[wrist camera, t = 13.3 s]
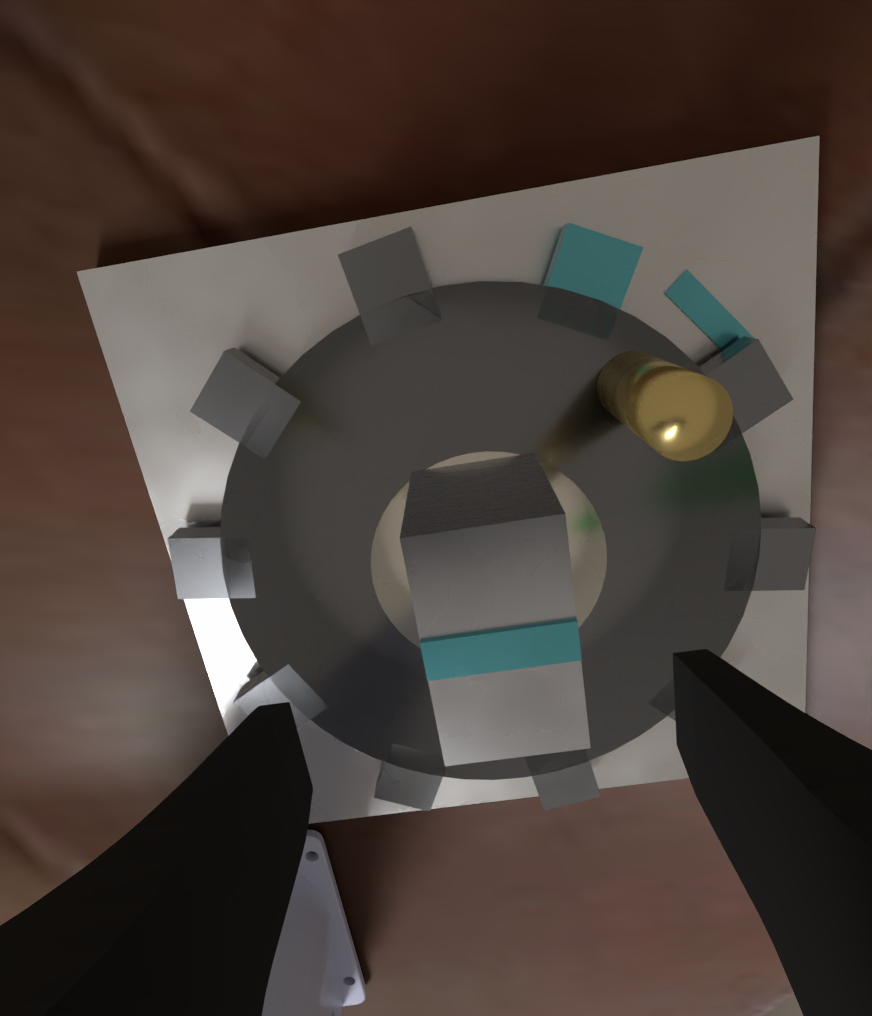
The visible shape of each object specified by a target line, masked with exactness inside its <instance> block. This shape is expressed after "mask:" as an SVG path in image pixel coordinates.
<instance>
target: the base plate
mask: <svg viewBox="0 0 872 1016" xmlns="http://www.w3.org/2000/svg"><path fill="white" fill-rule="evenodd" d="M819 139H820V136H815V137H809V138H804V139H798V140H793V141H788V142H782V143H777V144H771V145H766V146H760V147H755V148H749V149H744V150H738V151H733V152H728V153H722V154H717V155H711V156H706V157H700V158H695V159H689V160H684V161H678V162H673V163H668V164H662V165H657V166H651V167H646V168H640V169H635V170H629V171H624V172H618V173H613V174H608V175H602V176H597V177H591V178H586V179H580V180H575V181H569V182H564V183H558V184H553V185H548V186H542V187H537V188H531V189H526V190H520V191H515V192H509V193H504V194H498V195H493V196H488V197H482V198H477V199H471V200H466V201H460V202H455V203H449V204H444V205H438V206H433V207H428V208H422V209H417V210H411V211H406V212H400V213H395V214H389V215H384V216H378V217H373V218H367V219H362V220H357V221H351V222H346V223H340V224H335V225H329V226H324V227H318V228H313V229H307V230H302V231H297V232H291V233H286V234H280V235H275V236H269V237H264V238H258V239H253V240H247V241H242V242H237V243H231V244H226V245H220V246H215V247H209V248H204V249H198V250H193V251H187V252H182V253H177V254H171V255H166V256H160V257H155V258H149V259H144V260H138V261H133V262H127V263H122V264H117V265H111V266H106V267H100V268H95V269H89V270H84V271H78V272H77V274H78V278H79V281H80V284H81V287H82V290H83V293H84V296H85V299H86V302H87V305H88V308H89V311H90V314H91V317H92V320H93V323H94V326H95V330H96V333H97V336H98V339H99V342H100V345H101V348H102V351H103V354H104V357H105V360H106V363H107V366H108V369H109V372H110V375H111V378H112V382H113V385H114V388H115V391H116V394H117V397H118V400H119V403H120V406H121V409H122V412H123V415H124V418H125V421H126V424H127V427H128V430H129V434H130V437H131V440H132V443H133V446H134V449H135V452H136V455H137V458H138V461H139V464H140V467H141V470H142V473H143V476H144V479H145V482H146V486H147V489H148V492H149V495H150V498H151V501H152V504H153V507H154V510H155V513H156V516H157V519H158V522H159V525H160V528H161V531H162V534H163V537H164V541H165V544H166V547H167V550H168V553H169V556H170V550H169V544H168V538H169V537H170V536H171V535H172V534H173V533H174V532H175V531H176V530H177V529H178V528H186V527H221V509H222V503H223V498H224V493H225V487H226V482H227V477H228V474H229V471H230V468H231V465H232V462H233V459H234V456H235V453H236V450H237V447H238V444H239V442H237V441H235V440H234V439H232V438H231V437H229V436H228V435H226V434H224V433H223V432H221V431H220V430H218V429H217V428H215V427H213V426H212V425H210V424H209V423H207V422H206V421H204V420H203V419H201V418H199V417H198V416H196V415H195V414H193V413H192V412H190V410H191V408H192V406H193V405H194V403H195V401H196V399H197V398H198V396H199V394H200V392H201V391H202V389H203V387H204V385H205V384H206V382H207V380H208V378H209V377H210V375H211V373H212V371H213V370H214V368H215V366H216V364H217V363H218V361H219V359H220V357H221V356H222V354H223V352H224V351H225V350H228V349H231V348H234V347H235V348H236V349H238V350H239V351H241V352H242V353H244V354H245V355H247V356H248V357H250V358H251V359H253V360H254V361H256V362H257V363H259V364H260V365H262V366H263V367H265V368H266V369H268V370H269V371H271V372H272V373H274V374H275V375H277V376H278V377H280V378H281V377H282V376H283V375H284V374H285V373H286V372H287V370H288V369H289V368H290V367H291V366H292V365H293V364H294V363H295V362H296V361H297V360H298V359H299V358H300V357H301V356H302V355H303V354H304V353H305V352H307V351H308V350H309V349H310V348H312V347H313V346H314V345H316V344H317V343H318V342H319V341H321V340H322V339H323V338H324V337H326V336H327V335H328V334H329V333H331V332H332V331H334V330H335V329H337V328H339V327H340V326H342V325H344V324H345V323H347V322H349V321H351V320H352V319H354V318H356V317H357V316H359V315H360V314H359V311H358V308H357V306H356V303H355V300H354V298H353V295H352V292H351V290H350V287H349V284H348V281H347V279H346V276H345V273H344V271H343V268H342V265H341V263H340V260H339V257H338V254H340V253H343V252H346V251H348V250H351V249H353V248H356V247H359V246H361V245H364V244H366V243H369V242H372V241H374V240H377V239H379V238H382V237H385V236H387V235H390V234H393V233H395V232H398V231H400V230H403V229H406V228H408V227H412V229H413V231H414V234H415V237H416V240H417V243H418V246H419V249H420V252H421V255H422V258H423V261H424V264H425V267H426V270H427V273H428V276H429V279H430V282H431V285H432V288H434V287H438V286H443V285H451V284H459V283H468V282H476V281H505V282H525V283H531V284H538V285H543V284H544V281H545V278H546V275H547V272H548V269H549V266H550V263H551V260H552V257H553V254H554V251H555V248H556V245H557V242H558V239H559V236H560V233H561V230H562V227H563V225H565V224H567V223H572V224H575V225H578V226H581V227H584V228H587V229H590V230H593V231H596V232H599V233H602V234H605V235H608V236H611V237H614V238H617V239H620V240H623V241H626V242H629V243H632V244H635V245H638V246H641V247H644V248H643V250H642V253H641V255H640V258H639V261H638V263H637V266H636V269H635V271H634V274H633V277H632V279H631V282H630V285H629V287H628V290H627V292H626V295H625V298H624V300H623V303H622V306H621V308H620V310H622V311H624V312H627V313H629V314H631V315H633V316H635V317H637V318H638V319H640V320H641V321H643V322H644V323H646V324H647V325H649V326H650V327H652V328H653V329H655V330H656V331H658V332H659V333H661V334H662V335H664V336H665V337H667V338H668V339H669V340H670V341H671V342H673V343H674V344H675V345H676V346H677V347H678V348H679V349H680V350H681V351H683V352H684V353H685V354H686V355H687V356H688V357H689V358H690V359H691V360H693V361H694V362H695V363H696V364H697V366H698V367H700V366H702V365H703V364H705V363H706V362H707V361H709V360H710V359H712V358H713V357H715V356H716V355H717V354H719V353H720V352H722V351H723V350H725V349H726V348H728V347H729V346H730V345H732V344H733V343H735V342H736V341H738V340H739V339H740V338H742V337H743V336H746V337H751V338H756V339H759V341H760V343H761V344H762V346H763V348H764V349H765V351H766V353H767V355H768V356H769V358H770V360H771V361H772V363H773V365H774V367H775V368H776V370H777V372H778V373H779V375H780V377H781V378H782V380H783V382H784V384H785V385H786V387H787V389H788V390H789V392H790V394H791V396H792V397H793V399H794V400H792V401H791V402H789V403H788V404H786V405H785V406H783V407H781V408H780V409H778V410H777V411H775V412H774V413H772V414H771V415H769V416H768V417H766V418H765V419H763V420H762V421H760V422H759V423H757V424H756V425H754V426H753V427H751V428H750V429H748V430H747V431H745V432H744V433H742V435H743V437H744V440H745V442H746V445H747V447H748V450H749V452H750V455H751V459H752V463H753V467H754V471H755V475H756V479H757V483H758V487H759V498H760V509H761V518H791V517H800V518H802V519H803V520H805V521H806V522H808V523H809V524H810V503H811V462H812V422H813V381H814V341H815V301H816V260H817V220H818V179H819ZM170 559H171V556H170ZM171 562H172V561H171ZM808 584H809V568H808V574H807V579H806V585H805V590H778V591H752V592H751V595H750V598H749V601H748V603H747V606H746V609H745V612H744V615H743V618H742V620H741V621H740V623H739V625H738V627H737V629H736V631H735V633H734V635H733V637H732V639H731V641H730V643H729V645H728V647H727V648H726V650H725V651H724V653H723V654H722V656H721V657H720V658H722V659H723V660H725V661H726V662H728V663H729V664H731V665H732V666H733V667H735V668H736V669H738V670H739V671H741V672H742V673H744V674H745V675H747V676H748V677H750V678H751V679H753V680H754V681H756V682H757V683H759V684H760V685H762V686H763V687H765V688H766V689H768V690H769V691H771V692H773V693H774V694H776V695H777V696H779V697H780V698H782V699H783V700H785V701H787V702H788V703H790V704H791V705H793V706H795V707H796V708H798V709H799V710H801V711H803V712H804V713H805V705H806V665H807V624H808ZM184 602H185V605H186V608H187V611H188V614H189V617H190V620H191V623H192V626H193V629H194V632H195V635H196V638H197V641H198V645H199V648H200V651H201V654H202V657H203V660H204V663H205V666H206V669H207V672H208V675H209V678H210V681H211V684H212V687H213V690H214V693H215V697H216V700H217V703H218V706H219V709H220V712H221V715H222V718H223V721H224V724H225V727H226V730H227V733H228V736H229V735H230V734H231V733H232V732H233V731H234V730H235V729H236V728H237V727H238V726H239V724H240V723H241V722H242V721H243V720H244V719H245V718H246V717H247V716H246V715H245V714H244V713H243V712H242V711H241V710H240V709H239V708H238V707H237V706H236V705H235V704H234V703H233V702H234V700H235V698H236V696H237V694H238V692H239V690H240V688H241V686H242V685H244V684H245V683H247V682H248V681H249V680H251V679H252V678H254V677H255V676H257V675H258V674H260V673H261V672H262V671H264V670H263V669H262V667H261V666H260V665H259V663H258V662H257V660H256V659H255V657H254V655H253V653H252V651H251V650H250V648H249V646H248V644H247V642H246V641H245V639H244V637H243V635H242V633H241V630H240V628H239V625H238V623H237V620H236V618H235V615H234V613H233V610H232V608H231V605H230V601H229V598H220V599H184ZM297 731H298V734H299V738H300V742H301V745H302V749H303V753H304V756H305V760H306V763H307V767H308V771H309V774H310V778H311V782H312V785H313V793H312V801H311V809H310V817H309V823H308V824H311V823H319V822H328V821H336V820H344V819H352V818H361V817H369V816H377V815H386V814H394V813H402V812H410V811H419V810H421V809H417V808H413V807H409V806H405V805H401V804H397V803H393V802H389V801H385V800H381V799H377V798H374V795H375V787H376V780H377V776H378V773H379V771H380V768H381V765H382V762H383V761H381V760H378V759H375V758H373V757H371V756H369V755H367V754H365V753H363V752H361V751H359V750H357V749H354V748H352V747H350V746H348V745H346V744H345V743H343V742H342V741H340V740H338V739H337V738H335V737H334V736H332V735H331V734H329V733H328V732H326V731H324V730H323V729H321V728H320V727H319V726H317V725H316V724H315V723H314V722H313V721H311V720H308V721H307V722H305V723H304V724H302V725H301V726H299V727H298V728H297ZM590 763H591V766H592V769H593V772H594V775H595V778H596V781H597V784H598V788H599V789H601V788H609V787H618V786H626V785H634V784H643V783H651V782H659V781H667V780H676V779H684V778H689V776H688V774H687V771H686V768H685V766H684V763H683V760H682V758H681V755H680V752H679V750H678V747H677V742H676V721H675V720H673V719H671V718H670V717H668V716H667V717H666V718H664V719H663V720H662V721H660V722H659V723H657V724H656V725H655V726H653V727H652V728H650V729H649V730H648V731H646V732H645V733H643V734H642V735H640V736H639V737H637V738H635V739H633V740H632V741H630V742H628V743H626V744H624V745H623V746H621V747H619V748H617V749H615V750H614V751H611V752H609V753H607V754H604V755H602V756H599V757H597V758H595V759H592V760H590ZM535 796H539V795H538V792H537V789H536V787H535V784H534V781H533V779H532V776H530V777H524V778H512V779H500V780H472V779H457V778H449V777H443V778H442V781H441V783H440V786H439V789H438V791H437V794H436V797H435V799H434V802H433V804H432V807H431V809H435V808H444V807H452V806H460V805H468V804H477V803H485V802H493V801H502V800H510V799H518V798H526V797H535Z"/></svg>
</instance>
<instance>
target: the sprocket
mask: <svg viewBox="0 0 872 1016" xmlns="http://www.w3.org/2000/svg"><path fill="white" fill-rule="evenodd" d="M643 248H644V247H641V246H638V245H635V244H632V243H629V242H626V241H623V240H620V239H617V238H614V237H611V236H608V235H605V234H602V233H599V232H596V231H593V230H590V229H587V228H584V227H581V226H578V225H575V224H572V223H567V224H565V225H563V227H562V230H561V233H560V236H559V239H558V242H557V245H556V248H555V251H554V254H553V257H552V260H551V263H550V266H549V269H548V272H547V275H546V278H545V281H544V284H543V285H538V284H531V283H525V282H505V281H476V282H468V283H459V284H451V285H443V286H438V287H434V288H432V285H431V282H430V279H429V276H428V273H427V270H426V267H425V264H424V261H423V258H422V255H421V252H420V249H419V246H418V243H417V240H416V237H415V234H414V231H413V229H412V227H408V228H406V229H403V230H400V231H398V232H395V233H393V234H390V235H387V236H385V237H382V238H379V239H377V240H374V241H372V242H369V243H366V244H364V245H361V246H359V247H356V248H353V249H351V250H348V251H346V252H343V253H340V254H338V257H339V260H340V263H341V265H342V268H343V271H344V273H345V276H346V279H347V281H348V284H349V287H350V290H351V292H352V295H353V298H354V300H355V303H356V306H357V308H358V311H359V314H360V315H359V316H357V317H356V318H354V319H352V320H351V321H349V322H347V323H345V324H344V325H342V326H340V327H339V328H337V329H335V330H334V331H332V332H331V333H329V334H328V335H327V336H326V337H324V338H323V339H322V340H321V341H319V342H318V343H317V344H316V345H314V346H313V347H312V348H310V349H309V350H308V351H307V352H305V353H304V354H303V355H302V356H301V357H300V358H299V359H298V360H297V361H296V362H295V363H294V364H293V365H292V366H291V367H290V368H289V369H288V370H287V372H286V373H285V374H284V375H283V376H282V377H281V378H280V377H278V376H277V375H275V374H274V373H272V372H271V371H269V370H268V369H266V368H265V367H263V366H262V365H260V364H259V363H257V362H256V361H254V360H253V359H251V358H250V357H248V356H247V355H245V354H244V353H242V352H241V351H239V350H238V349H236V348H235V347H234V348H231V349H228V350H225V351H224V352H223V354H222V356H221V357H220V359H219V361H218V363H217V364H216V366H215V368H214V370H213V371H212V373H211V375H210V377H209V378H208V380H207V382H206V384H205V385H204V387H203V389H202V391H201V392H200V394H199V396H198V398H197V399H196V401H195V403H194V405H193V406H192V408H191V410H190V412H192V413H193V414H195V415H196V416H198V417H199V418H201V419H203V420H204V421H206V422H207V423H209V424H210V425H212V426H213V427H215V428H217V429H218V430H220V431H221V432H223V433H224V434H226V435H228V436H229V437H231V438H232V439H234V440H235V441H237V442H239V444H238V447H237V450H236V453H235V456H234V459H233V462H232V465H231V468H230V471H229V474H228V477H227V482H226V487H225V493H224V498H223V503H222V509H221V527H186V528H178V529H177V530H176V531H175V532H174V533H173V534H172V535H171V536H170V537H169V538H168V544H169V550H170V556H171V561H172V567H173V573H174V579H175V585H176V591H177V596H178V599H220V598H229V601H230V605H231V608H232V610H233V613H234V615H235V618H236V620H237V623H238V625H239V628H240V630H241V633H242V635H243V637H244V639H245V641H246V642H247V644H248V646H249V648H250V650H251V651H252V653H253V655H254V657H255V659H256V660H257V662H258V663H259V665H260V666H261V667H262V669H263V670H264V671H262V672H261V673H260V674H258V675H257V676H255V677H254V678H252V679H251V680H249V681H248V682H247V683H245V684H244V685H242V686H241V688H240V690H239V692H238V694H237V696H236V698H235V700H234V702H233V703H234V704H235V705H236V706H237V707H238V708H239V709H240V710H241V711H242V712H243V713H244V714H245V715H246V716H248V715H249V714H250V713H251V712H253V711H254V710H255V709H256V708H257V707H258V706H261V705H269V704H277V703H285V702H290V705H291V709H292V713H293V716H294V720H295V724H296V727H297V728H298V727H299V726H301V725H302V724H304V723H305V722H307V721H308V720H311V721H313V722H314V723H315V724H316V725H317V726H319V727H320V728H321V729H323V730H324V731H326V732H328V733H329V734H331V735H332V736H334V737H335V738H337V739H338V740H340V741H342V742H343V743H345V744H346V745H348V746H350V747H352V748H354V749H357V750H359V751H361V752H363V753H365V754H367V755H369V756H371V757H373V758H375V759H378V760H381V761H383V762H382V765H381V768H380V771H379V773H378V776H377V780H376V787H375V795H374V798H377V799H381V800H385V801H389V802H393V803H397V804H401V805H405V806H409V807H413V808H417V809H421V810H425V811H429V812H430V810H431V807H432V804H433V802H434V799H435V797H436V794H437V791H438V789H439V786H440V783H441V781H442V778H443V777H449V778H457V779H472V780H500V779H512V778H524V777H530V776H532V779H533V781H534V784H535V787H536V789H537V792H538V795H539V797H540V800H541V803H542V805H543V808H544V811H546V810H550V809H554V808H558V807H562V806H565V805H569V804H573V803H577V802H581V801H585V800H589V799H592V798H596V797H600V796H601V795H600V791H599V788H598V784H597V781H596V778H595V775H594V772H593V769H592V766H591V763H590V760H592V759H595V758H597V757H599V756H602V755H604V754H607V753H609V752H611V751H614V750H615V749H617V748H619V747H621V746H623V745H624V744H626V743H628V742H630V741H632V740H633V739H635V738H637V737H639V736H640V735H642V734H643V733H645V732H646V731H648V730H649V729H650V728H652V727H653V726H655V725H656V724H657V723H659V722H660V721H662V720H663V719H664V718H666V717H667V716H668V717H670V718H671V719H673V720H675V721H676V719H675V697H674V675H673V653H677V652H685V651H693V650H701V649H708V650H709V651H711V652H712V653H714V654H716V655H717V656H719V657H721V656H722V654H723V653H724V651H725V650H726V648H727V647H728V645H729V643H730V641H731V639H732V637H733V635H734V633H735V631H736V629H737V627H738V625H739V623H740V621H741V620H742V618H743V615H744V612H745V609H746V606H747V603H748V601H749V598H750V595H751V592H752V591H778V590H805V585H806V579H807V574H808V568H809V563H810V557H811V552H812V546H813V541H814V535H815V530H816V528H815V527H813V526H812V525H811V524H809V523H808V522H806V521H805V520H803V519H802V518H800V517H791V518H761V509H760V498H759V487H758V483H757V479H756V475H755V471H754V467H753V463H752V459H751V455H750V452H749V450H748V447H747V445H746V442H745V440H744V437H743V435H742V433H744V432H745V431H747V430H748V429H750V428H751V427H753V426H754V425H756V424H757V423H759V422H760V421H762V420H763V419H765V418H766V417H768V416H769V415H771V414H772V413H774V412H775V411H777V410H778V409H780V408H781V407H783V406H785V405H786V404H788V403H789V402H791V401H792V400H794V399H793V397H792V396H791V394H790V392H789V390H788V389H787V387H786V385H785V384H784V382H783V380H782V378H781V377H780V375H779V373H778V372H777V370H776V368H775V367H774V365H773V363H772V361H771V360H770V358H769V356H768V355H767V353H766V351H765V349H764V348H763V346H762V344H761V343H760V341H759V339H756V338H751V337H746V336H743V337H742V338H740V339H739V340H738V341H736V342H735V343H733V344H732V345H730V346H729V347H728V348H726V349H725V350H723V351H722V352H720V353H719V354H717V355H716V356H715V357H713V358H712V359H710V360H709V361H707V362H706V363H705V364H703V365H702V366H700V367H698V366H697V364H696V363H695V362H694V361H693V360H691V359H690V358H689V357H688V356H687V355H686V354H685V353H684V352H683V351H681V350H680V349H679V348H678V347H677V346H676V345H675V344H674V343H673V342H671V341H670V340H669V339H668V338H667V337H665V336H664V335H662V334H661V333H659V332H658V331H656V330H655V329H653V328H652V327H650V326H649V325H647V324H646V323H644V322H643V321H641V320H640V319H638V318H637V317H635V316H633V315H631V314H629V313H627V312H624V311H622V310H620V308H621V306H622V303H623V300H624V298H625V295H626V292H627V290H628V287H629V285H630V282H631V279H632V277H633V274H634V271H635V269H636V266H637V263H638V261H639V258H640V255H641V253H642V250H643ZM534 452H535V454H536V456H537V458H538V460H539V462H540V464H541V466H542V468H543V470H544V472H545V474H546V476H547V478H548V480H549V482H550V484H551V486H552V488H553V490H554V492H555V494H556V496H557V498H558V500H559V502H560V504H561V506H562V508H563V510H564V512H565V514H566V523H567V533H568V542H569V551H570V561H571V570H572V579H573V589H574V598H575V607H576V617H577V621H578V630H579V639H580V648H581V658H582V661H581V664H582V673H583V682H584V692H585V701H586V710H587V720H588V729H589V738H590V748H589V749H581V750H573V751H565V752H557V753H549V754H541V755H533V756H525V757H517V758H508V759H500V760H492V761H484V762H476V763H468V764H460V765H452V766H445V764H444V759H443V754H442V749H441V744H440V739H439V734H438V729H437V724H436V719H435V714H434V709H433V704H432V699H431V694H430V689H429V684H428V681H427V677H426V672H425V667H424V662H423V657H422V652H421V647H420V639H419V633H418V628H417V623H416V618H415V613H414V608H413V603H412V598H411V593H410V588H409V583H408V578H407V573H406V568H405V563H404V558H403V553H402V548H401V543H400V533H401V527H402V522H403V516H404V510H405V505H406V499H407V493H408V488H409V482H410V476H411V472H413V471H419V470H425V469H432V468H439V467H445V466H452V465H458V464H464V463H471V462H477V461H484V460H490V459H496V458H503V457H509V456H516V455H522V454H528V453H534Z"/></svg>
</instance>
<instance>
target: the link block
mask: <svg viewBox="0 0 872 1016" xmlns="http://www.w3.org/2000/svg"><path fill="white" fill-rule="evenodd" d="M400 543H401V548H402V553H403V558H404V563H405V568H406V573H407V578H408V583H409V588H410V593H411V598H412V603H413V608H414V613H415V618H416V623H417V628H418V633H419V639H420V647H421V652H422V657H423V662H424V667H425V672H426V677H427V681H428V684H429V689H430V694H431V699H432V704H433V709H434V714H435V719H436V724H437V729H438V734H439V739H440V744H441V749H442V754H443V759H444V764H445V766H452V765H460V764H468V763H476V762H484V761H492V760H500V759H508V758H517V757H525V756H533V755H541V754H549V753H557V752H565V751H573V750H581V749H589V748H590V738H589V729H588V720H587V710H586V701H585V692H584V682H583V673H582V664H581V661H582V658H581V648H580V639H579V630H578V621H577V617H576V607H575V598H574V589H573V579H572V570H571V561H570V551H569V542H568V533H567V523H566V514H565V512H564V510H563V508H562V506H561V504H560V502H559V500H558V498H557V496H556V494H555V492H554V490H553V488H552V486H551V484H550V482H549V480H548V478H547V476H546V474H545V472H544V470H543V468H542V466H541V464H540V462H539V460H538V458H537V456H536V454H535V452H534V453H528V454H522V455H516V456H509V457H503V458H496V459H490V460H484V461H477V462H471V463H464V464H458V465H452V466H445V467H439V468H432V469H425V470H419V471H413V472H411V476H410V482H409V488H408V493H407V499H406V505H405V510H404V516H403V522H402V527H401V533H400Z"/></svg>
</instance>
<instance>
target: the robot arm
mask: <svg viewBox="0 0 872 1016" xmlns="http://www.w3.org/2000/svg"><path fill="white" fill-rule="evenodd" d="M673 675H674V697H675V719H676V742H677V747H678V750H679V752H680V755H681V758H682V760H683V763H684V766H685V768H686V771H687V774H688V776H689V779H690V781H691V784H692V786H693V789H694V791H695V794H696V796H697V798H698V800H699V802H700V804H701V806H702V808H703V810H704V812H705V814H706V816H707V817H708V819H709V821H710V823H711V825H712V827H713V829H714V831H715V833H716V835H717V836H718V838H719V840H720V842H721V844H722V846H723V848H724V850H725V851H726V853H727V855H728V857H729V859H730V861H731V863H732V865H733V866H734V868H735V870H736V872H737V874H738V876H739V878H740V880H741V881H742V883H743V885H744V887H745V889H746V891H747V893H748V894H749V896H750V898H751V900H752V902H753V904H754V906H755V908H756V909H757V911H758V913H759V915H760V917H761V919H762V921H763V923H764V925H765V928H766V930H767V932H768V934H769V936H770V938H771V940H772V942H773V944H774V946H775V949H776V951H777V954H778V956H779V958H780V961H781V963H782V965H783V968H784V970H785V973H786V975H787V977H788V980H789V982H790V984H791V987H792V989H793V991H794V994H795V996H796V999H797V1001H798V1003H799V1006H800V1008H801V1011H802V1013H803V1015H804V1016H872V750H870V749H869V748H867V747H865V746H863V745H861V744H859V743H857V742H855V741H853V740H851V739H850V738H848V737H846V736H844V735H843V734H841V733H839V732H837V731H835V730H834V729H832V728H830V727H828V726H827V725H825V724H823V723H821V722H819V721H818V720H816V719H814V718H813V717H811V716H809V715H808V714H806V713H804V712H803V711H801V710H799V709H798V708H796V707H795V706H793V705H791V704H790V703H788V702H787V701H785V700H783V699H782V698H780V697H779V696H777V695H776V694H774V693H773V692H771V691H769V690H768V689H766V688H765V687H763V686H762V685H760V684H759V683H757V682H756V681H754V680H753V679H751V678H750V677H748V676H747V675H745V674H744V673H742V672H741V671H739V670H738V669H736V668H735V667H733V666H732V665H731V664H729V663H728V662H726V661H725V660H723V659H722V658H720V657H719V656H717V655H716V654H714V653H712V652H711V651H709V650H708V649H701V650H693V651H685V652H677V653H673ZM312 793H313V785H312V782H311V778H310V774H309V771H308V767H307V763H306V760H305V756H304V753H303V749H302V745H301V742H300V738H299V734H298V731H297V727H296V724H295V720H294V716H293V713H292V709H291V705H290V702H285V703H277V704H269V705H261V706H258V707H257V708H256V709H255V710H254V711H253V712H251V713H250V714H249V715H248V716H247V717H246V718H245V719H244V720H243V721H242V722H241V723H240V724H239V726H238V727H237V728H236V729H235V730H234V731H233V732H232V733H231V734H230V735H229V736H228V737H227V738H226V739H225V740H224V741H223V742H222V743H221V744H220V745H219V746H218V747H217V748H216V749H215V750H214V751H213V752H212V753H211V754H210V755H209V756H208V757H207V759H206V760H205V761H204V762H203V763H202V764H201V765H200V766H199V767H198V768H197V769H196V770H195V771H194V772H193V773H192V774H191V775H190V776H189V777H188V778H187V779H186V780H185V781H184V782H183V783H182V784H180V785H179V786H178V787H177V788H176V789H175V790H174V791H173V792H172V793H171V794H170V795H169V796H168V797H167V798H165V799H164V800H163V801H162V802H161V803H160V804H159V805H158V806H157V807H156V808H155V809H154V810H153V811H152V812H151V813H149V814H148V815H147V816H146V817H145V818H144V819H143V820H142V821H141V822H140V823H138V824H137V825H136V826H135V827H134V828H133V829H132V830H130V831H129V832H128V833H127V834H126V835H124V836H123V837H122V838H121V839H120V840H119V841H117V842H116V843H115V844H114V845H112V846H111V847H110V848H109V849H107V850H106V851H105V852H103V853H102V854H101V855H100V856H98V857H97V858H96V859H95V860H93V861H92V862H91V863H90V864H88V865H87V866H86V867H84V868H83V869H82V870H80V871H79V872H78V873H76V874H75V875H73V876H72V877H71V878H69V879H68V880H66V881H65V882H64V883H62V884H61V885H59V886H58V887H57V888H55V889H54V890H52V891H51V892H49V893H48V894H47V895H45V896H44V897H42V898H41V899H40V900H38V901H37V902H35V903H34V904H33V905H31V906H30V907H28V908H27V909H25V910H24V911H22V912H21V913H19V914H18V915H16V916H15V917H13V918H12V919H10V920H9V921H7V922H5V923H4V924H2V925H1V926H0V1016H342V1008H343V1006H347V1005H356V1004H360V1003H362V1002H363V1001H364V1000H365V998H366V985H365V982H364V978H363V975H362V971H361V968H360V964H359V961H358V957H357V954H356V951H355V947H354V944H353V940H352V937H351V933H350V930H349V926H348V923H347V919H346V916H345V912H344V909H343V905H342V902H341V898H340V895H339V891H338V888H337V884H336V881H335V877H334V874H333V870H332V867H331V863H330V860H329V856H328V853H327V849H326V846H325V842H324V839H323V837H322V835H321V834H320V833H319V832H317V831H315V830H308V823H309V817H310V809H311V801H312ZM310 851H312V852H316V853H311V852H310Z"/></svg>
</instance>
